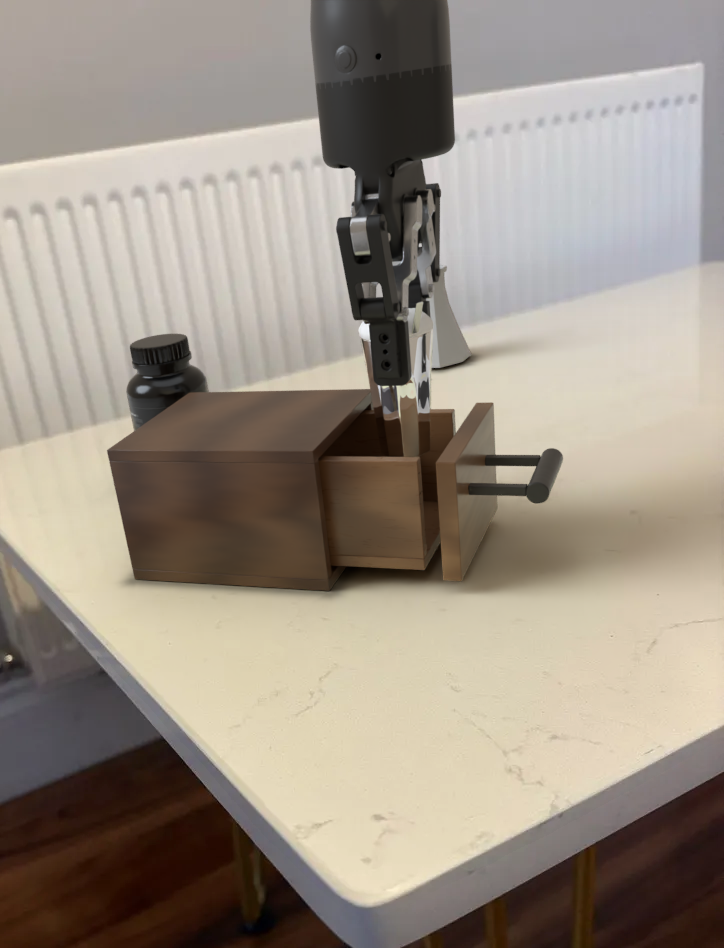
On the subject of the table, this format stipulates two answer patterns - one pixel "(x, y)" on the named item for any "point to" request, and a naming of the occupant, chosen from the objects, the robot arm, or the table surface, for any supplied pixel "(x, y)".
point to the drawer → (421, 493)
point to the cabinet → (233, 487)
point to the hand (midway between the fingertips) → (404, 370)
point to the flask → (445, 328)
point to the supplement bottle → (161, 376)
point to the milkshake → (405, 393)
